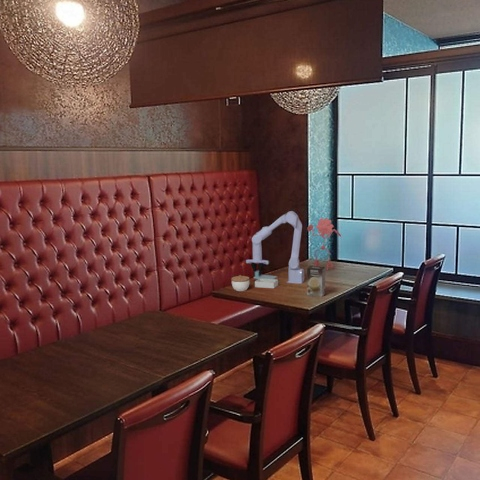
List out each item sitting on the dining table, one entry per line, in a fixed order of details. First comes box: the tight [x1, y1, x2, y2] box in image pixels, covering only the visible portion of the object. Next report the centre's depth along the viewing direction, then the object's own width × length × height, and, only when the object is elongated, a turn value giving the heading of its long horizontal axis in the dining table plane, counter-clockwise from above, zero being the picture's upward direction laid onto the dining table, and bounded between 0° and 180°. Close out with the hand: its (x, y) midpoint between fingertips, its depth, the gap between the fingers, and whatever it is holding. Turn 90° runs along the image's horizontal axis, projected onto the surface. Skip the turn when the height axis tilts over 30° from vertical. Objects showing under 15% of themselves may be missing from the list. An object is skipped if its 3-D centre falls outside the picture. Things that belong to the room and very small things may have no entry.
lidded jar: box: [230, 274, 250, 292], centre depth 312 cm, size 11×11×9 cm
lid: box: [253, 270, 278, 280], centre depth 328 cm, size 13×9×4 cm
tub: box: [254, 278, 279, 289], centre depth 319 cm, size 12×8×4 cm, turn 67°
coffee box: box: [306, 265, 326, 298], centre depth 297 cm, size 9×6×16 cm
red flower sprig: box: [307, 217, 342, 271], centre depth 361 cm, size 15×26×35 cm, turn 54°
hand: (257, 274), depth 330 cm, fingers closed on lid, 2 cm apart
